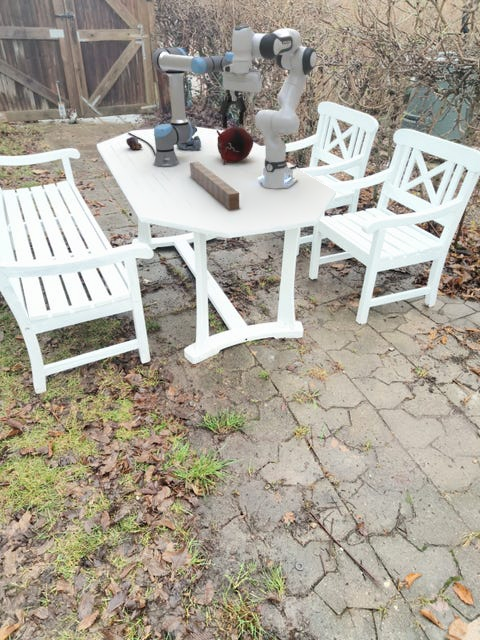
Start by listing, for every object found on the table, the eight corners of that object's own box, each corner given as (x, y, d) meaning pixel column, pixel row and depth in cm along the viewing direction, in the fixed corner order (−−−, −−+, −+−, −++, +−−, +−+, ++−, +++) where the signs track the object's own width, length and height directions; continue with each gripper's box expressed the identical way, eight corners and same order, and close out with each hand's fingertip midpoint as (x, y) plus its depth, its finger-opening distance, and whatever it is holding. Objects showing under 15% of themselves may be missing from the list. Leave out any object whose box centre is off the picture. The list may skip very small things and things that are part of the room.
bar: (190, 176, 271) (189, 162, 266) (199, 175, 273) (198, 161, 268) (229, 210, 224) (229, 194, 220) (239, 208, 226) (239, 192, 222)
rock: (139, 148, 333) (125, 149, 329) (137, 135, 329) (123, 137, 325) (143, 149, 323) (130, 150, 319) (141, 136, 320) (128, 137, 316)
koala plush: (201, 150, 321) (199, 121, 310) (176, 151, 320) (173, 121, 309) (201, 144, 335) (199, 116, 324) (177, 145, 334) (174, 117, 323)
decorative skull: (214, 133, 304) (214, 130, 280) (248, 125, 303) (250, 121, 280) (221, 165, 311) (221, 165, 287) (254, 158, 310) (257, 157, 286)
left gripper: (221, 88, 238) (222, 130, 250) (252, 83, 253) (252, 123, 265) (211, 86, 242) (213, 128, 254) (243, 82, 257) (243, 121, 269)
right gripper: (265, 68, 199) (264, 103, 206) (229, 66, 209) (229, 98, 217) (256, 70, 195) (256, 104, 202) (220, 67, 205) (221, 100, 213)
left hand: (233, 126), depth 260 cm, fingers open, 13 cm apart
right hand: (242, 101), depth 210 cm, fingers open, 8 cm apart
